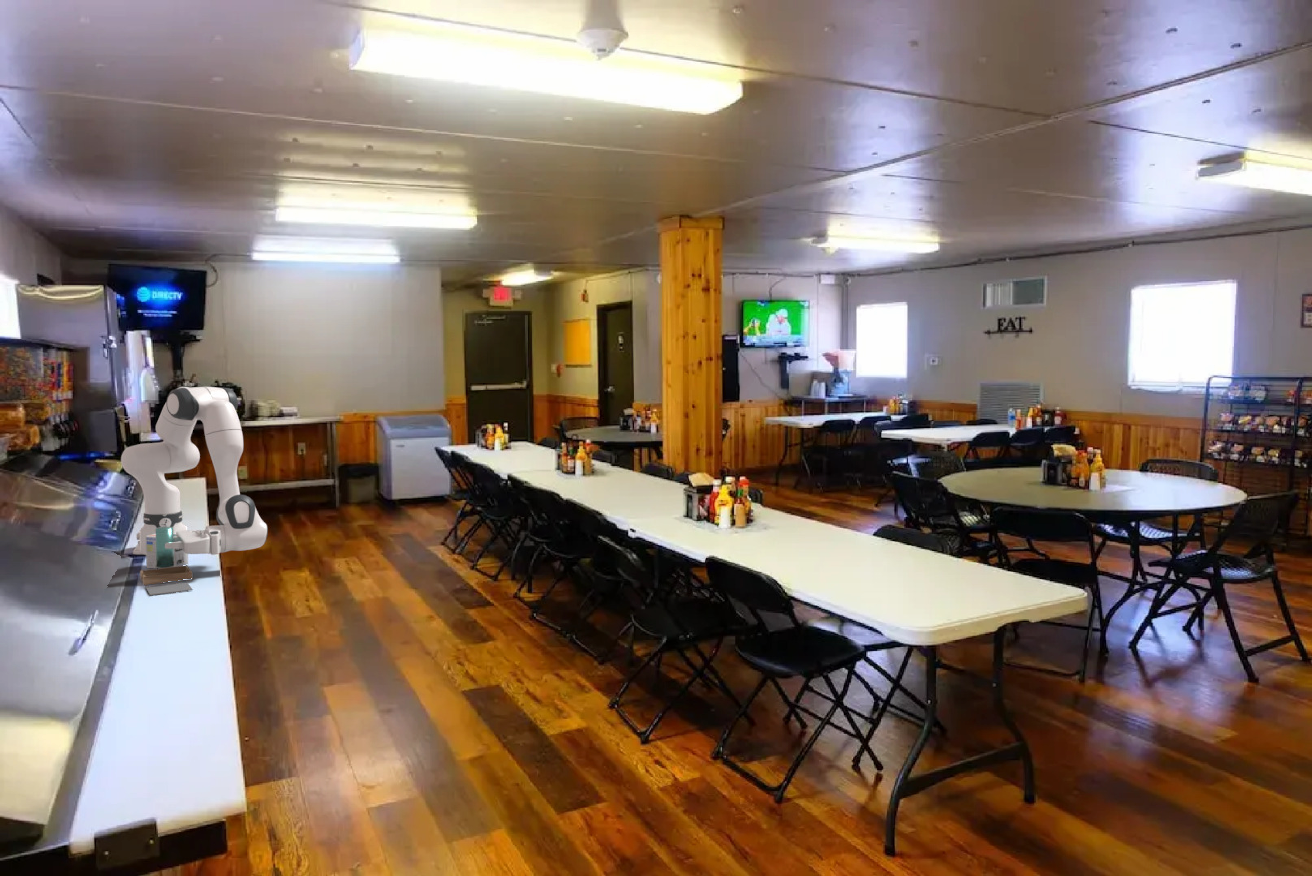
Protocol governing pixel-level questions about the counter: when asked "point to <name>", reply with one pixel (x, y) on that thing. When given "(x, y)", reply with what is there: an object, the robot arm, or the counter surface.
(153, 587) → the rubber mat
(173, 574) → the wooden frame
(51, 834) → the counter surface
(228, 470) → the robot arm
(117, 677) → the counter surface
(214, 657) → the counter surface
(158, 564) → the teal translucent cylinder
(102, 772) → the counter surface
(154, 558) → the light bulb box
